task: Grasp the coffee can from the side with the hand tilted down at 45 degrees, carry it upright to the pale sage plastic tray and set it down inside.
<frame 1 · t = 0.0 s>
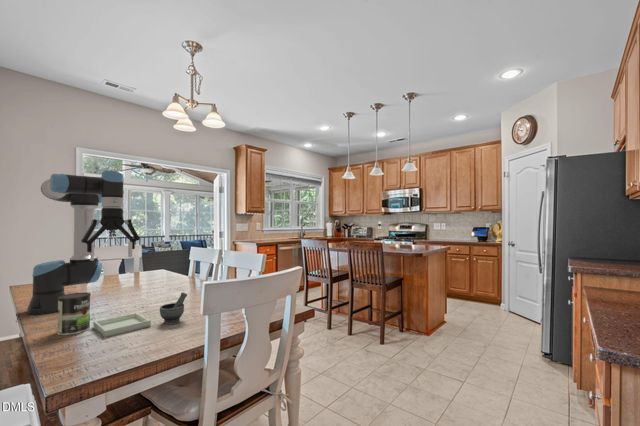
hand: (111, 258, 128), 28 cm above the table, tool pointing down, fingers open, 13 cm apart
coffee can: (73, 331, 123), on the table
tray: (122, 327, 127), on the table
mortar and pestle: (173, 322, 134), on the table
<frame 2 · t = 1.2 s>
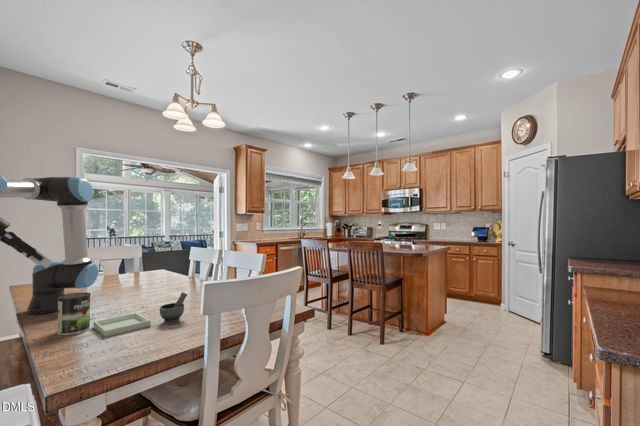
hand: (45, 263, 116), 28 cm above the table, tool tilted 45°, fingers open, 13 cm apart
nothing on the table moved.
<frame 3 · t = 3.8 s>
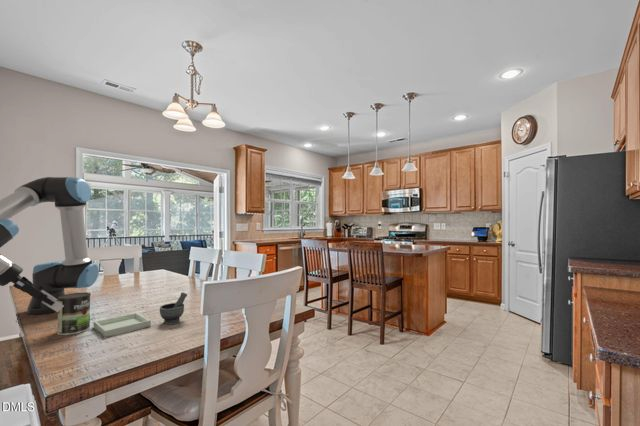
hand: (57, 305, 118), 11 cm above the table, tool tilted 45°, fingers open, 13 cm apart
nothing on the table moved.
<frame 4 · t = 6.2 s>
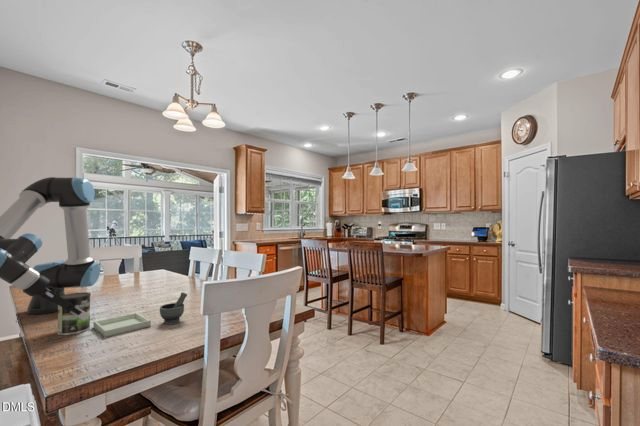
hand: (83, 314, 125), 6 cm above the table, tool tilted 45°, fingers closed on coffee can, 10 cm apart
coffee can: (74, 331, 123), on the table, touching gripper
everything else where it was.
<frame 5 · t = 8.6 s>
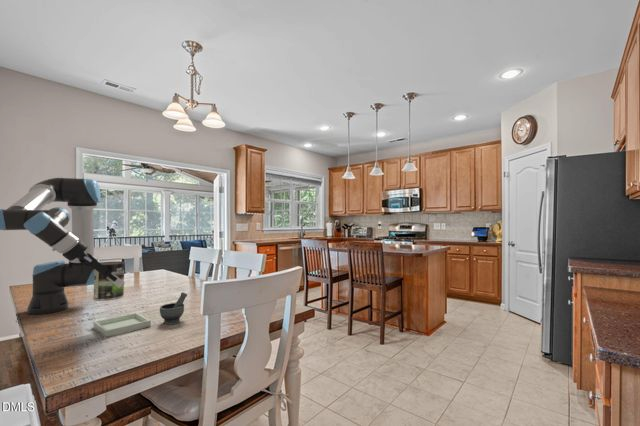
hand: (118, 283, 127), 18 cm above the table, tool tilted 45°, fingers closed on coffee can, 10 cm apart
coffee can: (108, 298, 124), point 12 cm above the table, touching gripper
everything else where it was.
when the fingers open (7 cm above the table, at t = 11.4 s): coffee can drops 1 cm, resting on tray.
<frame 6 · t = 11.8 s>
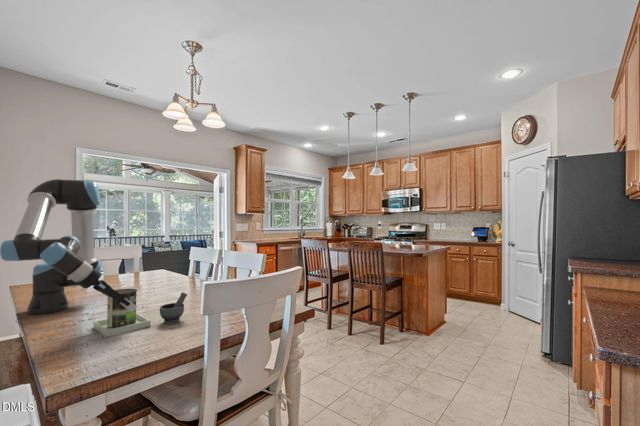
hand: (128, 306, 129), 8 cm above the table, tool tilted 45°, fingers open, 13 cm apart
coffee can: (121, 326, 127), resting on tray
everything else where it was.
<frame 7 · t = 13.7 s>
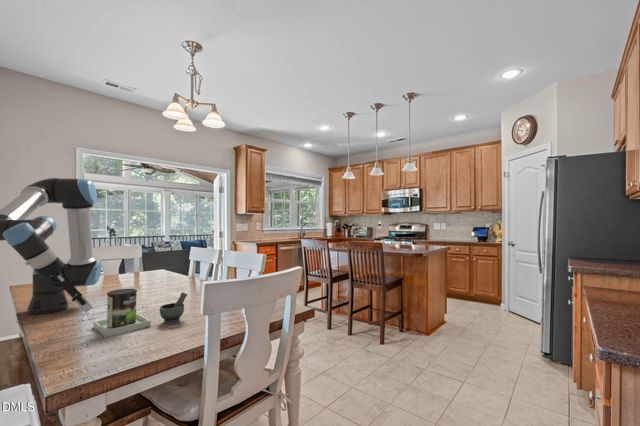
hand: (84, 305, 119), 11 cm above the table, tool tilted 35°, fingers open, 13 cm apart
nothing on the table moved.
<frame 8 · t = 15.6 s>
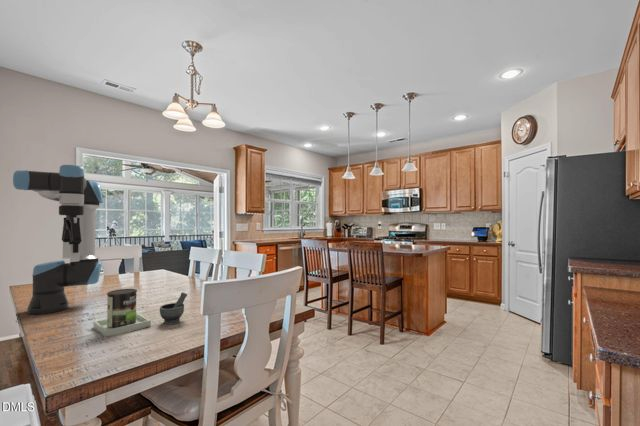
hand: (70, 260, 119), 29 cm above the table, tool pointing down, fingers open, 13 cm apart
nothing on the table moved.
at the end: coffee can inside the target area on the tray (0.2 cm from its centre), point 0.4 cm above the tray's base; coffee can tilted 0°; the gripper is holding nothing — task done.
